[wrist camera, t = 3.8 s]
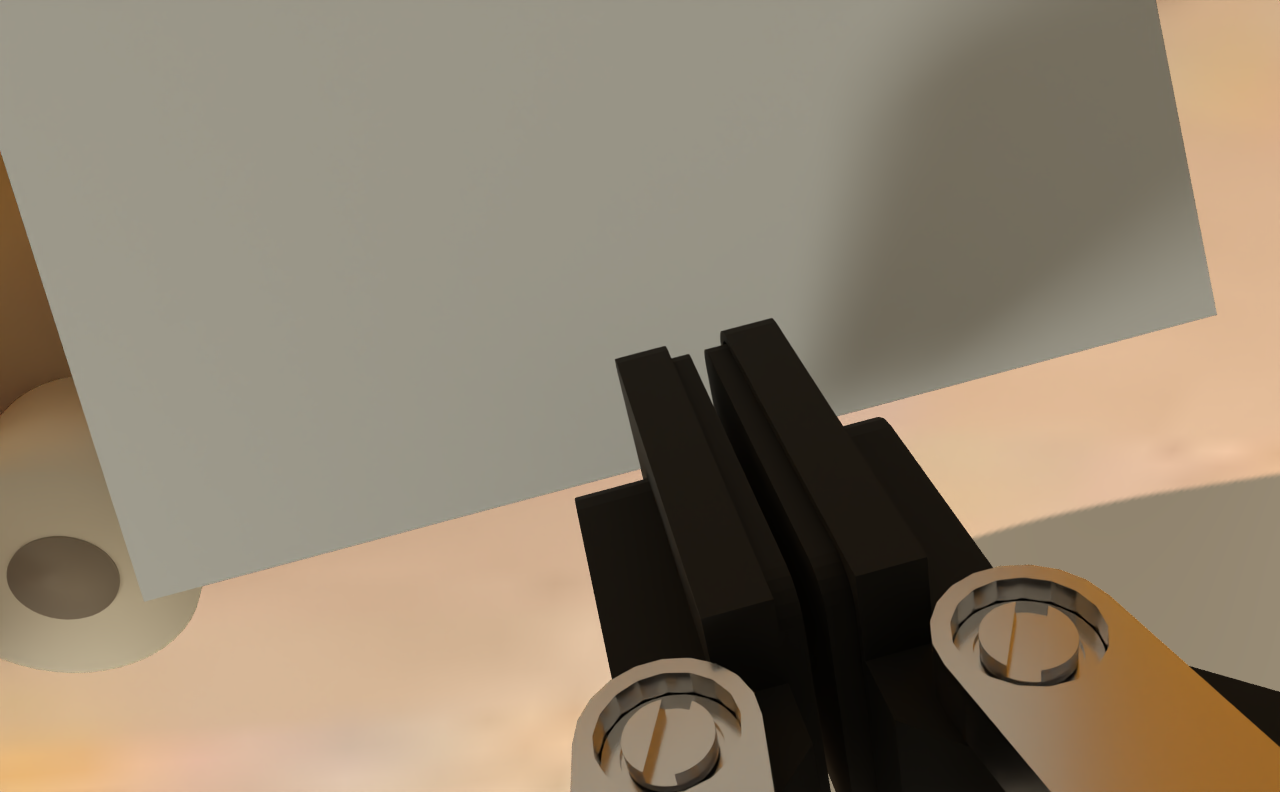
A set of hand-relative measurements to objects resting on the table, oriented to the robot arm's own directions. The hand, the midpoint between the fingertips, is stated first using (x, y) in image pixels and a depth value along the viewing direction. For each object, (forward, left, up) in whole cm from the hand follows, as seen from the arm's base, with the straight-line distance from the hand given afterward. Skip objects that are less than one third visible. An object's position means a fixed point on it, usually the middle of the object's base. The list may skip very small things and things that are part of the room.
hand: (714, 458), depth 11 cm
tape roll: (+7, -14, -17) cm, 23 cm away
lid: (-6, 0, -6) cm, 8 cm away
